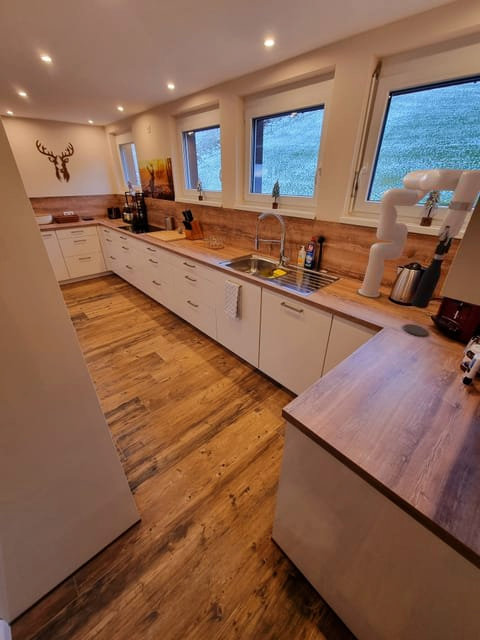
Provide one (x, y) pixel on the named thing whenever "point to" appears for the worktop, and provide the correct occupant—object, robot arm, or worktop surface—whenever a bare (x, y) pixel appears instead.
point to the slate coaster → (415, 330)
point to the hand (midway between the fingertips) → (440, 253)
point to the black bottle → (429, 281)
